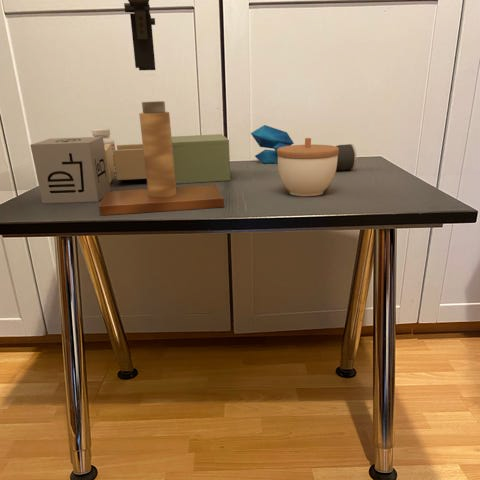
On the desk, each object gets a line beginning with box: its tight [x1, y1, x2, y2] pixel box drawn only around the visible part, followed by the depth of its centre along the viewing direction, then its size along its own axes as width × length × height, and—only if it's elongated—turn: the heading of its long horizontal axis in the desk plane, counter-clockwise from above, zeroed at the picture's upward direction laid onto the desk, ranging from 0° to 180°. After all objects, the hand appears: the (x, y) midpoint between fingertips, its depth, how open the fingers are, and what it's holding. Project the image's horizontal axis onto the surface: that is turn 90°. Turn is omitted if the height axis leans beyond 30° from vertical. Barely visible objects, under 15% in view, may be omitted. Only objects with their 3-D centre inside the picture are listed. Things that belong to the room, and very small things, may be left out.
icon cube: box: [29, 136, 112, 204], centre depth 89 cm, size 10×10×10 cm
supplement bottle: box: [91, 128, 116, 174], centre depth 113 cm, size 5×5×10 cm
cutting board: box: [98, 184, 225, 216], centre depth 83 cm, size 20×12×2 cm, turn 99°
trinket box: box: [277, 137, 339, 197], centre depth 85 cm, size 11×11×9 cm
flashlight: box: [335, 143, 357, 172], centre depth 106 cm, size 15×5×5 cm, turn 102°
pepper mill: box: [138, 100, 177, 198], centre depth 80 cm, size 5×5×15 cm
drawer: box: [104, 143, 147, 184], centre depth 102 cm, size 18×11×6 cm, turn 99°
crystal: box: [250, 124, 295, 165], centre depth 120 cm, size 7×9×12 cm
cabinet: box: [171, 133, 231, 185], centre depth 104 cm, size 15×13×8 cm
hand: (146, 69), depth 74 cm, fingers open, 13 cm apart
